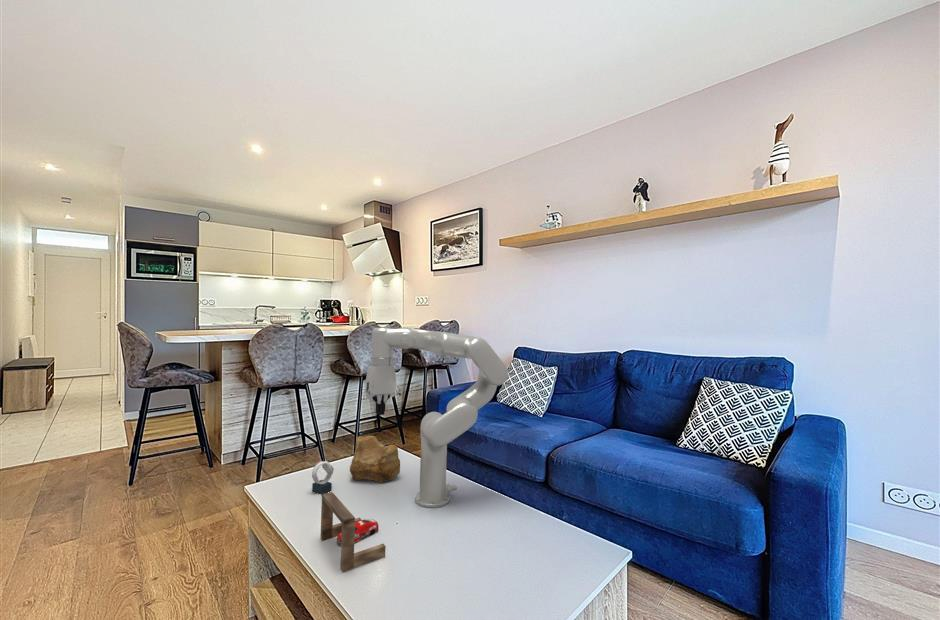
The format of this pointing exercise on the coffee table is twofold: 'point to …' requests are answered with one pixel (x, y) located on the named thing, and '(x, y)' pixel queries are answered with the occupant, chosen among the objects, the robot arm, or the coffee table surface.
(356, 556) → the walnut tunnel
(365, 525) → the race car
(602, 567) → the coffee table surface
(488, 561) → the coffee table surface
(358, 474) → the rough brown rock
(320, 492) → the watch
